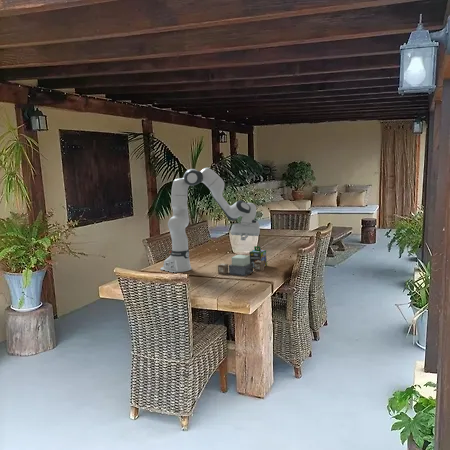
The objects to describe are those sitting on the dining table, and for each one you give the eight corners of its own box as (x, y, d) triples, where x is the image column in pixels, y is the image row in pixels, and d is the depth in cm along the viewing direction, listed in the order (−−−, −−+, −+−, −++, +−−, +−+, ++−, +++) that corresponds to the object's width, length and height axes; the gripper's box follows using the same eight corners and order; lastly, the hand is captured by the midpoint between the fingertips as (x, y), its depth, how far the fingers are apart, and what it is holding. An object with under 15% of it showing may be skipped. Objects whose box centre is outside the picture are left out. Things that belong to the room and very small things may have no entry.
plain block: (231, 269, 291) (231, 257, 289) (238, 266, 298) (237, 254, 297) (243, 270, 286) (243, 258, 285) (250, 267, 294) (249, 255, 293)
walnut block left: (217, 274, 293) (217, 264, 292) (222, 272, 297) (221, 263, 296) (224, 274, 290) (224, 265, 289) (228, 272, 295) (228, 263, 294)
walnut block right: (254, 271, 297) (253, 261, 296) (257, 269, 301) (257, 260, 300) (260, 271, 294) (260, 262, 293) (264, 269, 299) (263, 260, 298)
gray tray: (229, 274, 291) (228, 265, 290) (237, 270, 301) (237, 261, 300) (245, 276, 285) (244, 267, 284) (253, 271, 295) (252, 263, 294)
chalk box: (267, 265, 310) (266, 245, 308) (261, 268, 302) (260, 247, 300) (255, 264, 314) (254, 244, 312) (249, 267, 307) (248, 246, 305)
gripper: (231, 220, 306) (227, 236, 298) (260, 221, 299) (256, 237, 291) (234, 225, 311) (229, 241, 303) (261, 226, 303) (258, 243, 296)
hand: (242, 239), depth 297 cm, fingers closed
